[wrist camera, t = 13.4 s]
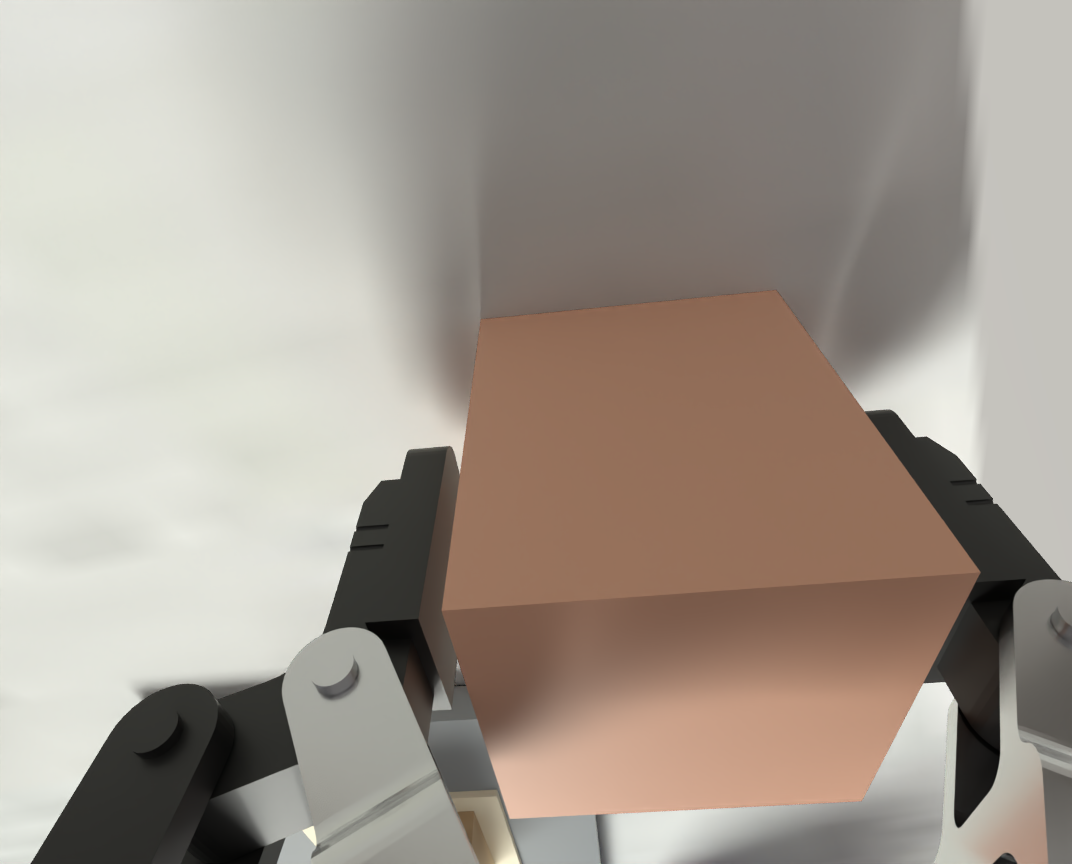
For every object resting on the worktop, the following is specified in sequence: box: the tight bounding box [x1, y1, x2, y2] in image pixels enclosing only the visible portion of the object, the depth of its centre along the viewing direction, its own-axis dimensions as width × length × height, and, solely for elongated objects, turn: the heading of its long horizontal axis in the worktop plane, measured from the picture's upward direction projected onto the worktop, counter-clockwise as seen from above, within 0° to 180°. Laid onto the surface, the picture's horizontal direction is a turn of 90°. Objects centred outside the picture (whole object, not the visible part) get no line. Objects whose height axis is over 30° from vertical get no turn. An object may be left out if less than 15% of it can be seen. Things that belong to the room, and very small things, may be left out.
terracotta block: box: [442, 290, 981, 819], centre depth 10 cm, size 5×5×6 cm
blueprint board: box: [277, 686, 601, 864], centre depth 22 cm, size 16×13×1 cm
